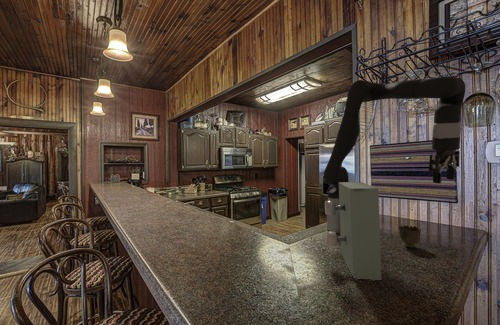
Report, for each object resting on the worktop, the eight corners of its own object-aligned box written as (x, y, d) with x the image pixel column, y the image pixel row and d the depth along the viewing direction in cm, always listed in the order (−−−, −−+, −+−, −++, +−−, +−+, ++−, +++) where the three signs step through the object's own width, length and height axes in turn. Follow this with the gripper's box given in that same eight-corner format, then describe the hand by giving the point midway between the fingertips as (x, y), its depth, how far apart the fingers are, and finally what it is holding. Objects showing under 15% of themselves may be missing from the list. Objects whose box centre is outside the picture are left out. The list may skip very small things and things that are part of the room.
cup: (425, 250, 91) (424, 230, 91) (404, 250, 92) (403, 229, 92) (415, 243, 98) (415, 225, 98) (396, 243, 99) (395, 224, 99)
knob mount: (353, 279, 72) (349, 188, 71) (341, 253, 91) (338, 182, 91) (381, 280, 70) (378, 188, 70) (363, 254, 90) (360, 182, 89)
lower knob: (327, 248, 80) (327, 233, 80) (326, 243, 85) (325, 229, 85) (349, 249, 79) (349, 234, 79) (346, 243, 84) (345, 230, 84)
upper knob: (326, 216, 80) (326, 202, 80) (325, 213, 85) (324, 199, 85) (348, 216, 79) (347, 202, 79) (345, 213, 84) (344, 199, 84)
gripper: (444, 134, 88) (442, 176, 90) (422, 137, 82) (420, 182, 84) (470, 134, 81) (467, 179, 83) (447, 137, 75) (444, 186, 78)
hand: (443, 181), depth 84 cm, fingers open, 8 cm apart
